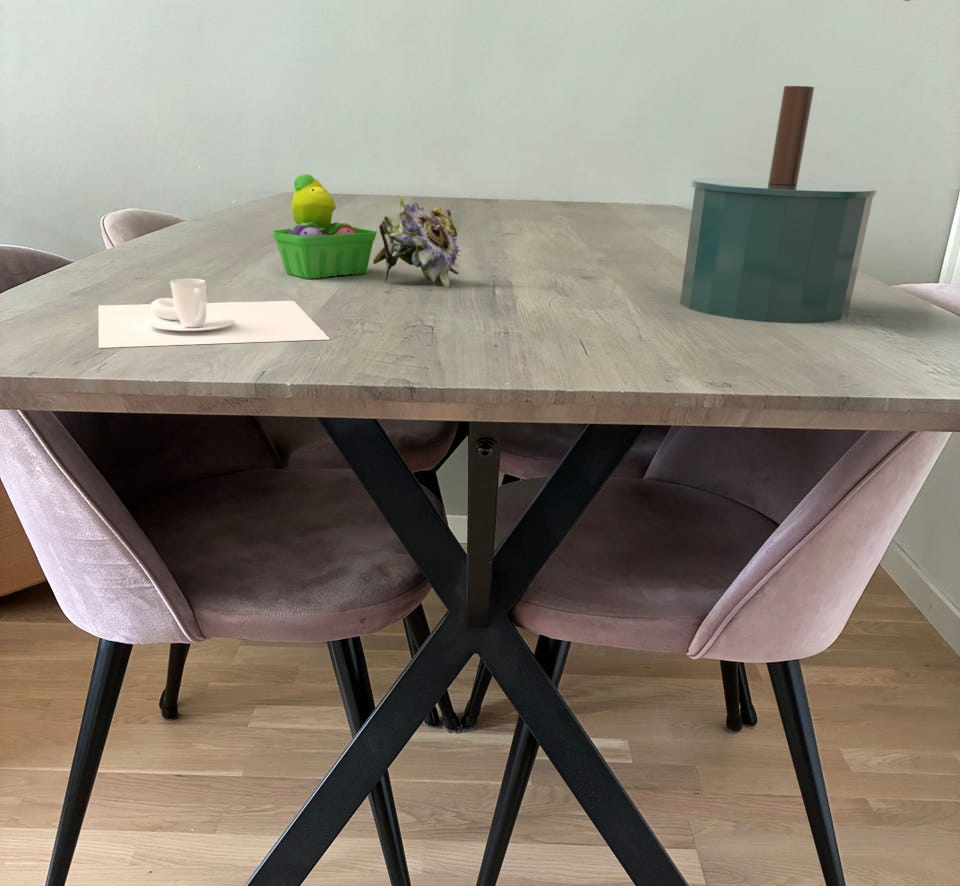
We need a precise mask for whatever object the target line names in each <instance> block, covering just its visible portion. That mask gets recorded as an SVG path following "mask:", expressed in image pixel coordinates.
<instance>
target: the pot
mask: <svg viewBox="0 0 960 886" xmlns="http://www.w3.org/2000/svg"><path fill="white" fill-rule="evenodd" d="M873 199H874V197H867V198H813V197H789V196H771V195H756V194H743V193H732V192H722V191H713V190H706V189H699V188H695V187H694V194H693V202H692V209H691V217H690V225H689V232H688V240H687V247H686V255H685V262H684V263H685V264H684V270H683V271H684V272H683V279H682V284H681V285H682V286H681V294H680V300H679V301H680V302H679V303H680V305H682V306H684V307H685V308H687V309H688V310H691V311H695V312H698V313H702V314H706V315H709V316H710V315H711V316H717V317H722V318H729V319H734V320H741V321H752V322H761V323H775V324H776V323H777V324H819V323H821V324H822V323H830V322H835V321H841V320H843V319H845V318H847V317H848V316H849V311H850V308H851V304H852V298H853V294H854V293H853V292H854V289H855V285H856V284H855V283H856V279H857V274H858V270H859V265H860V260H861V255H862V250H863V246H864V241H865V237H866V232H867V227H868V223H869V217H870V213H871V208H872V205H873V204H872V203H873Z"/></svg>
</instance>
